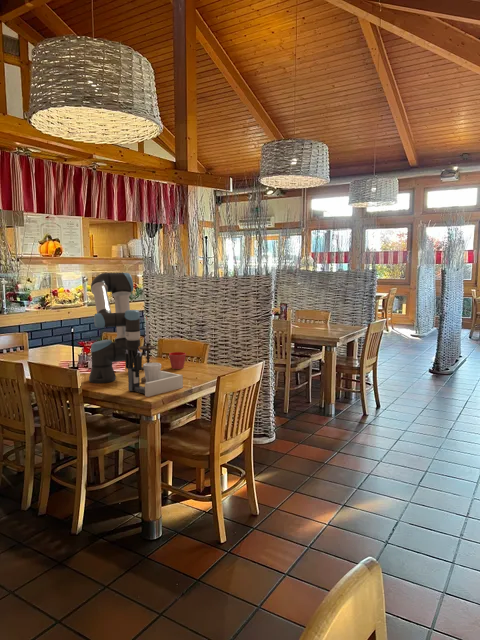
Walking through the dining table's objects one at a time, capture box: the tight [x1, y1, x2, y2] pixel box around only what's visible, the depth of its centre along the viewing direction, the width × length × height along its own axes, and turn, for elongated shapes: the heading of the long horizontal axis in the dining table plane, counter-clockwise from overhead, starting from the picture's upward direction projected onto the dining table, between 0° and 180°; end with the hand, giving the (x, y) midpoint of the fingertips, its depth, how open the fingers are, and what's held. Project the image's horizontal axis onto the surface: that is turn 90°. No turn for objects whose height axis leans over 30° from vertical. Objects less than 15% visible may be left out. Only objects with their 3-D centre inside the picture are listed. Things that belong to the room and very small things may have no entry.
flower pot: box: [168, 351, 187, 370], centre depth 313 cm, size 11×11×10 cm
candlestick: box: [139, 315, 157, 371], centre depth 309 cm, size 11×11×35 cm
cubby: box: [144, 370, 184, 398], centre depth 258 cm, size 19×24×7 cm
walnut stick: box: [140, 376, 146, 384], centre depth 280 cm, size 16×3×3 cm, turn 165°
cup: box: [142, 362, 162, 383], centre depth 261 cm, size 10×10×13 cm
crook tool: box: [127, 366, 145, 395], centre depth 257 cm, size 14×20×12 cm
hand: (134, 382), depth 254 cm, fingers closed on crook tool, 3 cm apart
